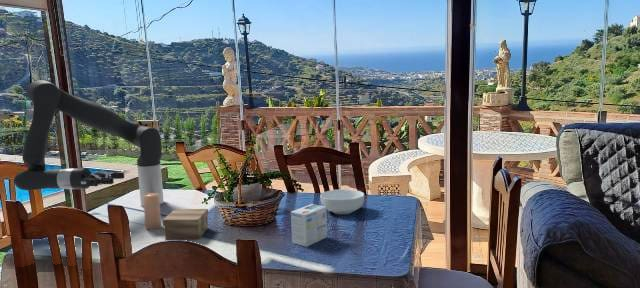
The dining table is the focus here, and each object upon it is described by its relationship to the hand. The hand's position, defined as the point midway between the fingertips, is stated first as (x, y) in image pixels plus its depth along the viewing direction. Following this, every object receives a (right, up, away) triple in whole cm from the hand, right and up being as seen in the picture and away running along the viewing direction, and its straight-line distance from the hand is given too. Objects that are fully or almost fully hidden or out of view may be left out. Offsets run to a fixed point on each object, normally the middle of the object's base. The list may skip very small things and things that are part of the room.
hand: (118, 178), depth 174 cm
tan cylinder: (+12, -18, +3) cm, 22 cm away
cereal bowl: (+81, -14, +14) cm, 84 cm away
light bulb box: (+69, -19, -16) cm, 73 cm away
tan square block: (+26, -19, -6) cm, 33 cm away
